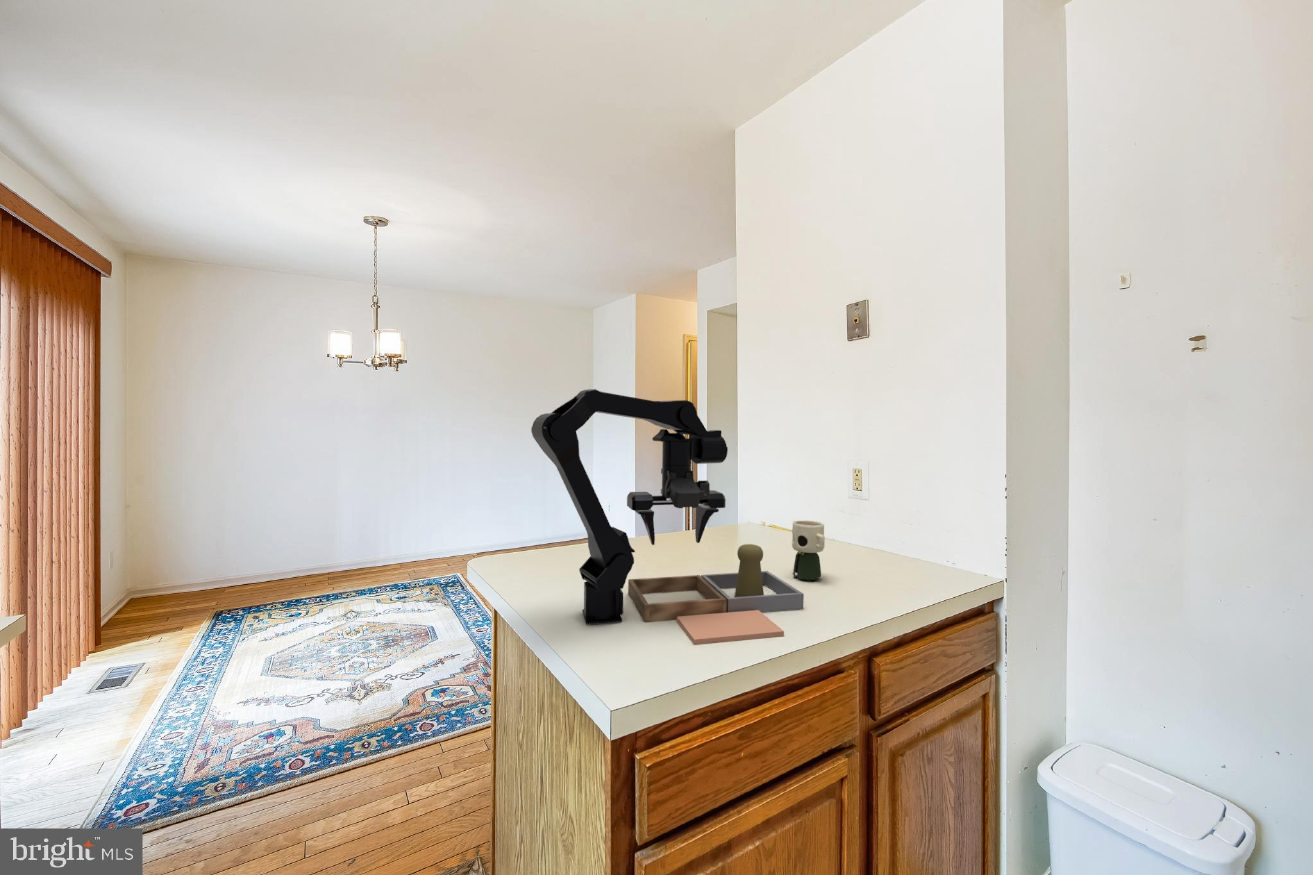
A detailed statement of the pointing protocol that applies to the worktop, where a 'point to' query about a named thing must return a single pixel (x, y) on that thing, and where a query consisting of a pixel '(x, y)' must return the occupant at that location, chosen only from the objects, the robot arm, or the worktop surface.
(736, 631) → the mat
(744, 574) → the cork
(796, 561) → the character mug
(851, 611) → the worktop surface
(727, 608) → the charcoal bin
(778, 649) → the worktop surface
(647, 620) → the walnut bin
